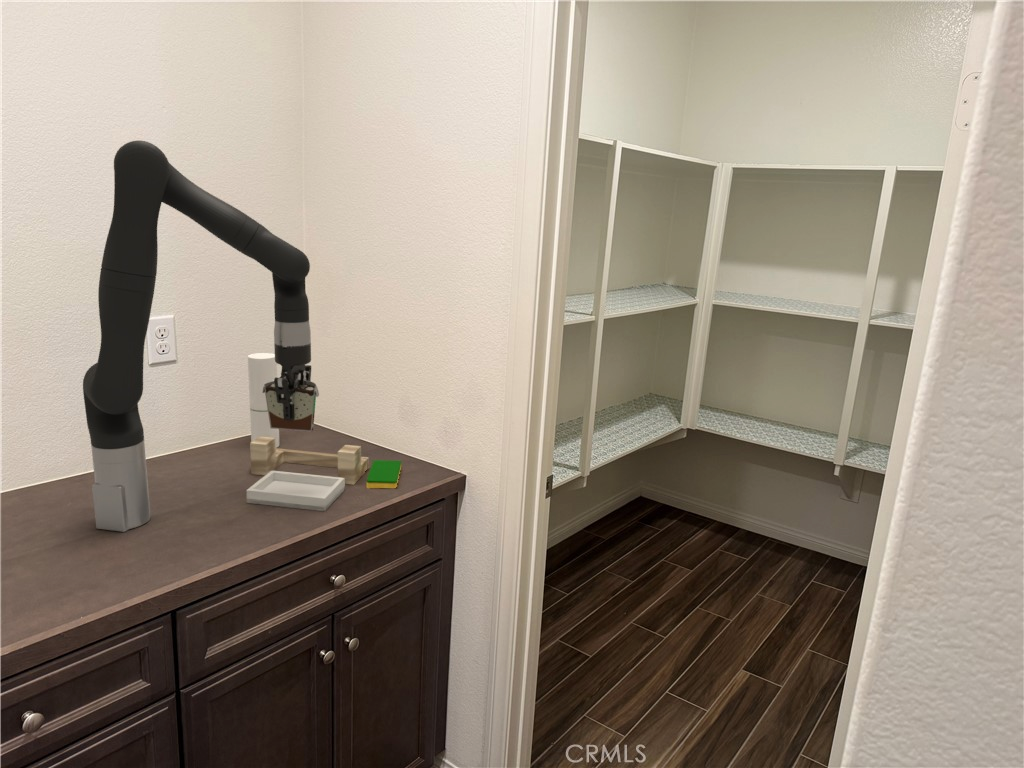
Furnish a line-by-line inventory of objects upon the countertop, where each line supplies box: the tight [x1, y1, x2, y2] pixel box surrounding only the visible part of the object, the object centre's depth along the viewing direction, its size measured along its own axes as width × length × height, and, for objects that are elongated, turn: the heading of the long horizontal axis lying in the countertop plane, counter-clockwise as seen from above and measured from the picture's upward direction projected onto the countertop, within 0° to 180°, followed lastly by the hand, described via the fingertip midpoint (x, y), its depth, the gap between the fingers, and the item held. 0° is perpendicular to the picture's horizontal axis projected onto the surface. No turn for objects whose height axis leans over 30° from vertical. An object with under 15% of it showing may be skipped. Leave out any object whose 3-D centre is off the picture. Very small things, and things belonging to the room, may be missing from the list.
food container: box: [262, 380, 320, 433], centre depth 154 cm, size 12×6×10 cm, turn 84°
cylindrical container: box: [247, 352, 280, 448], centre depth 186 cm, size 7×7×25 cm
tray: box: [246, 470, 346, 512], centre depth 158 cm, size 12×18×3 cm, turn 83°
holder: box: [249, 437, 370, 486], centre depth 172 cm, size 11×26×8 cm, turn 83°
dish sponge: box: [366, 459, 402, 489], centre depth 172 cm, size 7×14×2 cm, turn 4°
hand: (294, 415), depth 154 cm, fingers closed on food container, 5 cm apart
